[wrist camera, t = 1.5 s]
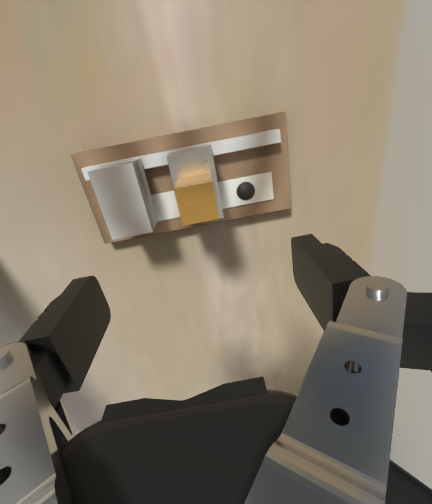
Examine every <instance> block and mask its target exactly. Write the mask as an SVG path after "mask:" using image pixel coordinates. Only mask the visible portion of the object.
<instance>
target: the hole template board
mask: <svg viewBox="0 0 432 504" xmlns="http://www.w3.org/2000/svg"><path fill="white" fill-rule="evenodd" d="M205 145H211V147H212V153H213V158H214V164H215V170H216V176H217V181H218V187H219V193H220V198H221V204H222V210H223V215H224V218H220V219H216V220H211V221H206V222H201V223H195V224H190V225H185V226H182V222H181V218H180V213H179V209H178V205H177V201H176V197H175V193H174V185H173V181H172V177H171V173H170V169H169V165H168V161H167V157H166V156H167V155H168V154H169V153H170V152H175V151H180V150H185V149H190V148H195V147H200V146H205ZM71 157H72V160H73V162H74V165H75V168H76V170H77V173H78V175H79V178H80V181H81V183H82V186H83V188H84V191H85V193H86V196H87V199H88V201H89V204H90V206H91V209H92V212H93V214H94V217H95V219H96V222H97V225H98V227H99V230H100V232H101V235H102V238H103V240H104V243H105V244H106V243H111V242H117V241H122V240H127V239H132V238H138V237H143V236H148V235H153V234H159V233H164V232H169V231H174V230H179V229H185V228H190V227H195V226H200V225H206V224H211V223H216V222H221V221H226V220H232V219H237V218H242V217H247V216H253V215H258V214H263V213H268V212H274V211H279V210H284V209H289V208H292V203H291V187H290V172H289V156H288V140H287V124H286V112H281V113H276V114H271V115H266V116H261V117H256V118H251V119H246V120H241V121H235V122H230V123H225V124H220V125H215V126H210V127H205V128H200V129H195V130H190V131H185V132H180V133H175V134H170V135H165V136H160V137H155V138H150V139H145V140H140V141H135V142H130V143H125V144H120V145H115V146H110V147H105V148H100V149H95V150H90V151H85V152H80V153H75V154H71Z"/></svg>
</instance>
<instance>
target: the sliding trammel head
mask: <svg viewBox="0 0 432 504" xmlns="http://www.w3.org/2000/svg"><path fill="white" fill-rule="evenodd" d="M166 157H167V161H168V165H169V169H170V173H171V177H172V181H173V185H174V193H175V197H176V201H177V205H178V209H179V213H180V218H181V222H182V226H185V225H190V224H195V223H201V222H206V221H211V220H216V219H220V218H224V215H223V210H222V204H221V198H220V193H219V187H218V181H217V176H216V170H215V164H214V158H213V153H212V147H211V145H205V146H200V147H195V148H190V149H185V150H180V151H175V152H170V153H169V154H168V155H167V156H166Z"/></svg>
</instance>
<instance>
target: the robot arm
mask: <svg viewBox="0 0 432 504" xmlns="http://www.w3.org/2000/svg"><path fill="white" fill-rule="evenodd" d="M291 248H292V261H293V274H294V279H295V282H296V285H297V287H298V289H299V290H300V292H301V294H302V295H303V297H304V299H305V300H306V302H307V304H308V305H309V307H310V309H311V310H312V312H313V314H314V315H315V317H316V319H317V320H318V322H319V323H320V325H321V327H322V328H323V330H324V333H323V335H322V338H321V340H320V342H319V345H318V347H317V350H316V352H315V354H314V357H313V359H312V362H311V364H310V366H309V369H308V371H307V374H306V376H305V378H304V381H303V383H302V386H301V388H300V390H299V393H298V395H297V396H295V395H292V394H289V393H286V392H281V391H276V390H266V386H265V382H264V378H263V377H259V378H254V379H248V380H242V381H237V382H231V383H226V384H223V385H220V386H218V387H216V388H213V389H211V390H208V391H206V392H204V393H201V394H199V395H197V396H194V397H192V398H190V399H187V400H183V401H177V400H163V399H148V398H143V399H138V400H132V401H127V402H121V403H116V404H110V405H106V408H105V411H104V414H103V418H102V420H101V421H99V422H97V423H95V424H93V425H91V426H89V427H88V428H86V429H85V430H83V431H81V432H80V433H78V434H77V435H76V434H75V432H74V429H73V426H72V424H71V421H70V419H69V416H68V413H67V411H66V408H65V406H64V404H63V402H62V401H61V397H62V395H63V393H68V392H74V391H79V390H80V388H81V386H82V384H83V381H84V379H85V377H86V374H87V372H88V370H89V368H90V365H91V363H92V361H93V359H94V356H95V354H96V352H97V349H98V347H99V345H100V343H101V340H102V338H103V336H104V334H105V331H106V329H107V327H108V325H109V322H110V316H111V315H110V308H109V305H108V303H107V301H106V298H105V296H104V294H103V291H102V289H101V287H100V285H99V282H98V280H97V279H96V277H95V276H88V277H83V278H78V279H73V280H72V281H71V283H70V284H69V285H68V286H67V288H66V289H65V290H64V291H63V293H62V294H61V295H60V296H58V297H57V298H56V299H54V300H53V301H52V302H51V303H50V304H49V305H48V306H47V308H46V309H45V310H44V313H42V314H41V315H40V316H39V317H38V320H36V321H35V322H34V324H33V325H32V326H31V327H30V328H29V330H28V331H27V332H26V333H25V335H24V336H23V337H22V338H21V340H20V341H19V342H16V343H11V344H8V345H5V346H3V347H1V348H0V504H432V489H430V488H428V487H427V486H426V485H425V484H423V483H422V482H420V481H419V480H418V479H416V478H415V477H413V476H412V475H411V474H409V473H408V472H407V471H405V470H404V469H402V468H401V467H400V466H398V465H397V464H395V463H394V462H393V461H391V460H390V451H391V442H392V433H393V423H394V414H395V405H396V396H397V387H398V378H399V368H410V369H422V370H431V372H432V293H412V292H407V291H406V289H405V288H404V286H403V285H401V284H400V283H398V282H396V281H394V280H391V279H389V278H385V277H378V276H370V275H369V274H368V273H367V272H366V271H365V270H364V269H362V268H361V267H360V266H359V265H358V264H357V263H356V262H355V261H352V259H351V258H350V257H349V256H348V255H346V253H344V252H343V251H342V250H341V249H340V248H339V247H336V246H334V245H331V244H329V243H325V244H322V243H321V242H320V241H319V240H317V239H316V238H315V237H314V236H313V235H312V234H308V235H303V236H297V237H292V240H291Z"/></svg>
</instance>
